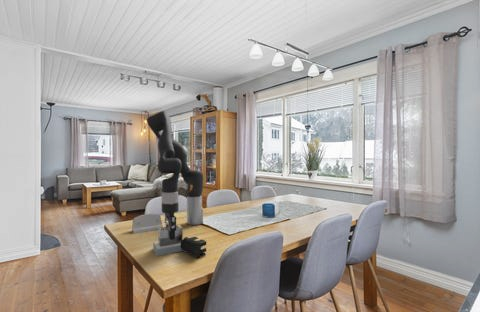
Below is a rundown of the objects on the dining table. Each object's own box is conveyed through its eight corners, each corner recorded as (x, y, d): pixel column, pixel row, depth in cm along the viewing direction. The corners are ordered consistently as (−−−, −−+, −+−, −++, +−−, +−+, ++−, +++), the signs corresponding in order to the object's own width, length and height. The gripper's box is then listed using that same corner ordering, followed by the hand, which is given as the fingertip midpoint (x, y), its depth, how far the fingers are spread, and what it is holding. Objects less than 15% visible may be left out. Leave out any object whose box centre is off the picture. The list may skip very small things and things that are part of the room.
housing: (158, 242, 116) (158, 226, 116) (179, 239, 120) (179, 223, 120) (160, 246, 112) (160, 229, 111) (182, 242, 116) (182, 226, 116)
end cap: (180, 253, 111) (180, 238, 111) (193, 249, 117) (193, 234, 116) (193, 260, 104) (193, 244, 104) (207, 255, 110) (206, 239, 109)
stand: (183, 243, 123) (183, 237, 123) (188, 250, 115) (187, 243, 115) (153, 248, 117) (153, 242, 117) (156, 256, 109) (156, 249, 109)
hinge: (133, 233, 138) (131, 215, 141) (131, 234, 142) (130, 216, 144) (163, 228, 146) (162, 211, 149) (161, 229, 150) (160, 212, 153)
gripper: (159, 199, 120) (159, 233, 120) (164, 205, 107) (164, 242, 108) (174, 198, 123) (175, 230, 124) (182, 203, 111) (182, 240, 111)
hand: (170, 236), depth 116 cm, fingers open, 8 cm apart
